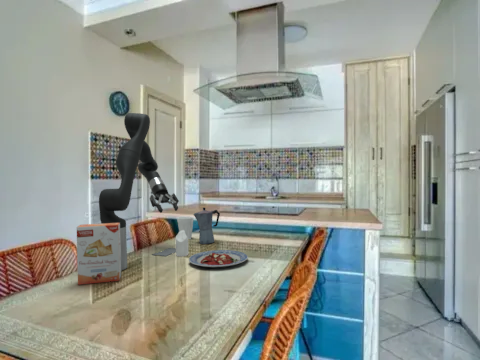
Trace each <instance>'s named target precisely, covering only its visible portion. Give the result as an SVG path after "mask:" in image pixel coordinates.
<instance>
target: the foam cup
mask: <svg viewBox="0 0 480 360" xmlns="http://www.w3.org/2000/svg"><path fill="white" fill-rule="evenodd" d="M177 225H178V233H179V232H180V231H181V230H184V231H185V234H186V236H187V237H188V239H190V240H192V234H193V226H194V216H180V217H179V216H178V217H177Z"/></svg>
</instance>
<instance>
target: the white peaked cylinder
mask: <svg viewBox="0 0 480 360" xmlns="http://www.w3.org/2000/svg"><path fill="white" fill-rule="evenodd" d="M175 248H176V252H175V255H176V257H186V256H189V240H188V237H187V236H186V234H185V231H184V230H181V231H180V232H179V231H178V233H177V234H176V236H175Z"/></svg>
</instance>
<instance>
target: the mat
mask: <svg viewBox="0 0 480 360" xmlns="http://www.w3.org/2000/svg"><path fill="white" fill-rule="evenodd" d="M163 250H164V251H163ZM163 250H161V251H162V252H160V251H158V253H157V252H155V253H152V254H151V255H152V256H156V255H160V256H159V257H168V256H170V255H173V254H176V247H167V248H166V249H163ZM172 253H173V254H172Z"/></svg>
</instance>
